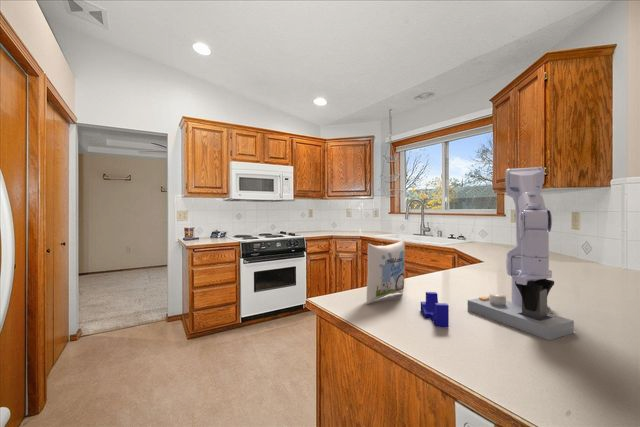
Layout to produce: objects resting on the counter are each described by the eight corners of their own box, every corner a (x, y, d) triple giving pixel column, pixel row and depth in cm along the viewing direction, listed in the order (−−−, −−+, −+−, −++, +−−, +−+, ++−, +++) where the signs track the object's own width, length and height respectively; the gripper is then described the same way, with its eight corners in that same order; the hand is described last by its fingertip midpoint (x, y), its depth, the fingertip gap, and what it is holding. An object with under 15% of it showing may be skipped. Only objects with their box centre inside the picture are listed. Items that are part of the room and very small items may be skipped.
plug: (529, 311, 77) (529, 285, 76) (547, 316, 73) (547, 288, 73) (521, 314, 74) (521, 287, 74) (539, 319, 71) (539, 291, 71)
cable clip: (420, 311, 87) (420, 291, 86) (436, 311, 86) (436, 292, 86) (430, 327, 75) (430, 304, 75) (448, 328, 74) (448, 305, 74)
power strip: (490, 305, 90) (490, 288, 90) (573, 332, 70) (573, 310, 70) (467, 309, 87) (467, 291, 87) (548, 340, 66) (548, 316, 66)
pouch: (358, 301, 96) (357, 242, 96) (396, 291, 107) (395, 238, 107) (375, 307, 90) (374, 244, 89) (413, 296, 100) (413, 240, 100)
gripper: (530, 252, 81) (530, 299, 81) (503, 256, 73) (503, 309, 74) (561, 255, 75) (561, 306, 75) (534, 260, 67) (534, 317, 67)
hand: (534, 308), depth 74 cm, fingers closed on plug, 4 cm apart
